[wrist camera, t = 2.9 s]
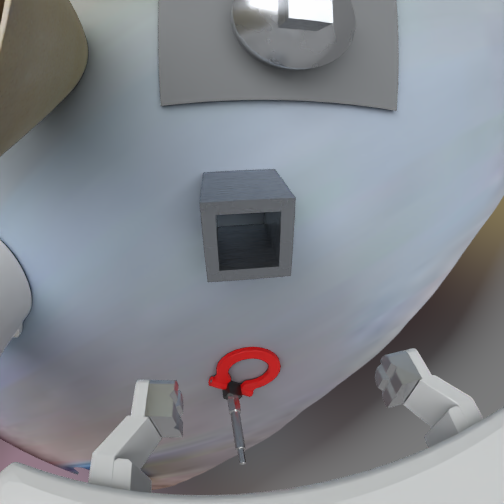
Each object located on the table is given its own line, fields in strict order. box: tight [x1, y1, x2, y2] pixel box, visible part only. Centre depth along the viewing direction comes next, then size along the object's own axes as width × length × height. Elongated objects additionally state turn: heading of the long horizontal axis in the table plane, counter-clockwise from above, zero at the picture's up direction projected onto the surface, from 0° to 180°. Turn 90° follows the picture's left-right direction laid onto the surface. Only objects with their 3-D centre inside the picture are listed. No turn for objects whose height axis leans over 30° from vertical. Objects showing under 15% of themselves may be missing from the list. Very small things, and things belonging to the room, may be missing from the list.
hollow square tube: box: [200, 169, 296, 282], centre depth 23 cm, size 6×6×7 cm
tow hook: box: [209, 347, 281, 465], centre depth 32 cm, size 8×13×9 cm
